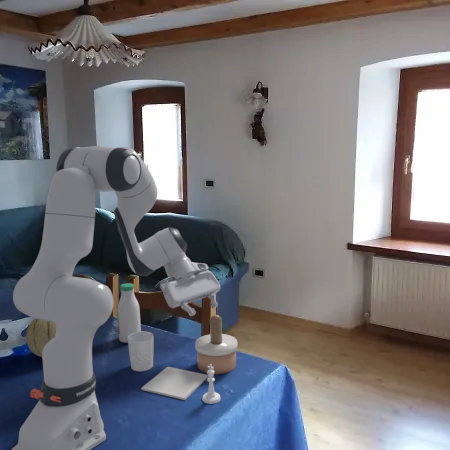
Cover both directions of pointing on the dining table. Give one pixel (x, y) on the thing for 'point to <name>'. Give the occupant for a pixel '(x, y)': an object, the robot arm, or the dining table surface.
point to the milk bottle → (128, 313)
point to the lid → (216, 340)
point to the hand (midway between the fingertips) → (204, 310)
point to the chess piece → (211, 389)
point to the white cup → (141, 350)
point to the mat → (175, 383)
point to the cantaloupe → (40, 335)
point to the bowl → (217, 362)
